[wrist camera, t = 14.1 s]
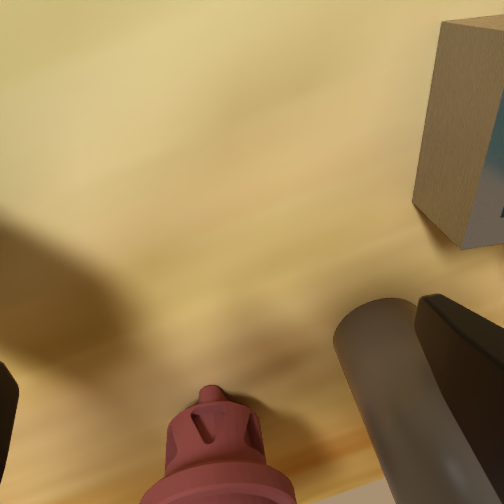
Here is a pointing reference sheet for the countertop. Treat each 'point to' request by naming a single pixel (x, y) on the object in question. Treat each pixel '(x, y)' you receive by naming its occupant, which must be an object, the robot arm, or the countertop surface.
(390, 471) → the round bit
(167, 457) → the mechanical component
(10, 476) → the countertop surface
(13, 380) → the robot arm
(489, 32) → the block
